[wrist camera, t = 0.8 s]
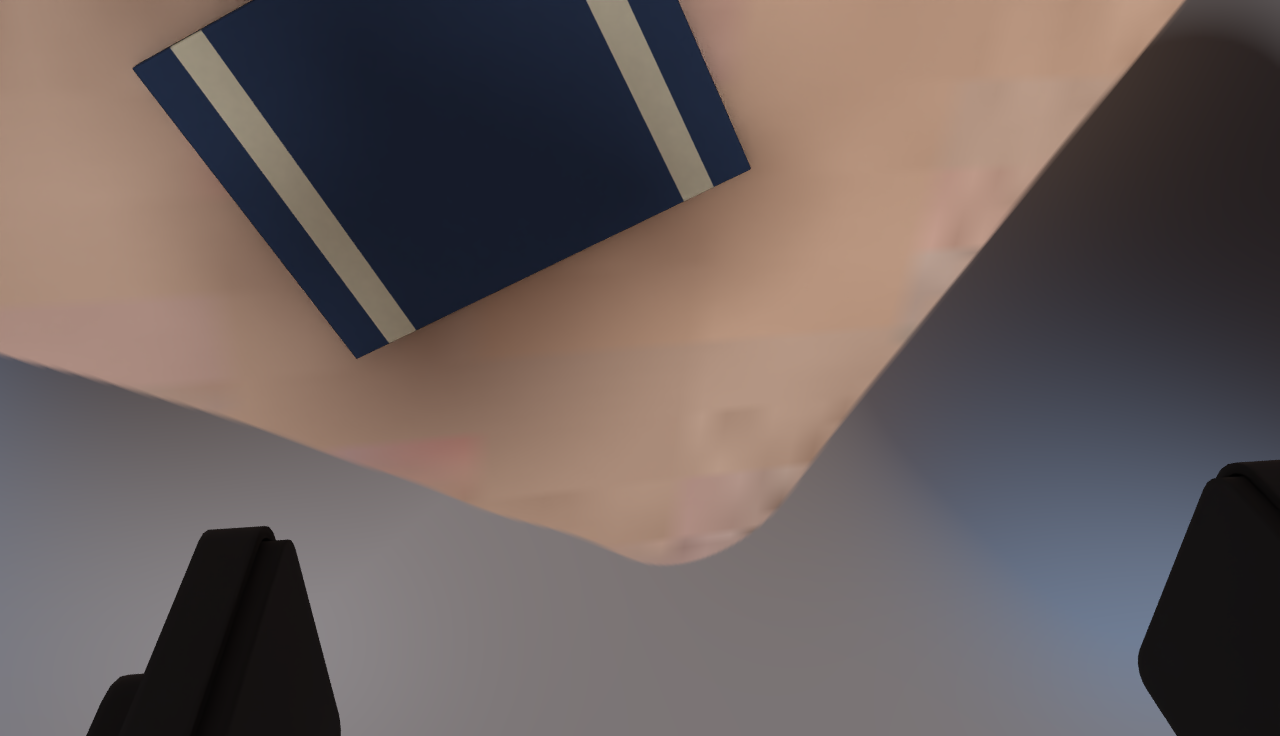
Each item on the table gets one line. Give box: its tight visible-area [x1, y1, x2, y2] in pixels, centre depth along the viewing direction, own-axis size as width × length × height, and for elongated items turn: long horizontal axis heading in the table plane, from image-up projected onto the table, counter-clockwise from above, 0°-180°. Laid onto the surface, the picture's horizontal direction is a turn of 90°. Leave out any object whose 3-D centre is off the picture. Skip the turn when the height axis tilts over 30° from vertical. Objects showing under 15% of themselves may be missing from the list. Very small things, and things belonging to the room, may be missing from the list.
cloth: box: [133, 0, 751, 359], centre depth 32 cm, size 16×12×1 cm
